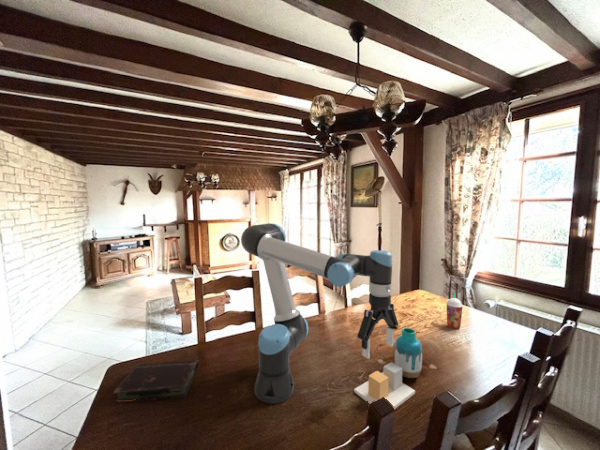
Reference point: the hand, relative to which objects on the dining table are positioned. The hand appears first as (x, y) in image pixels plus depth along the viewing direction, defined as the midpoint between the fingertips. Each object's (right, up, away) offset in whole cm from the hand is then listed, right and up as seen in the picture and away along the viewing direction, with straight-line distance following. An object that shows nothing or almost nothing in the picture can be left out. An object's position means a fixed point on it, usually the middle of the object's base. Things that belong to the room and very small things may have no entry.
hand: (378, 350), depth 95 cm
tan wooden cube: (0, -17, +1) cm, 17 cm away
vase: (+17, -17, +14) cm, 28 cm away
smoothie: (+62, -14, +57) cm, 86 cm away
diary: (-84, -18, +8) cm, 87 cm away
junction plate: (+3, -18, +3) cm, 18 cm away
